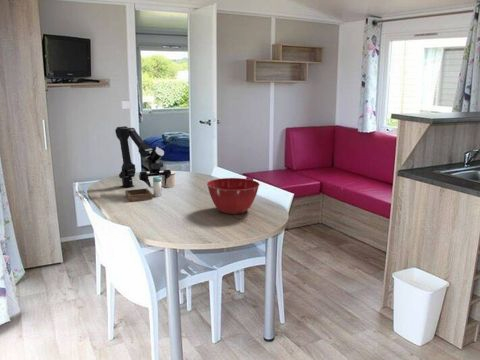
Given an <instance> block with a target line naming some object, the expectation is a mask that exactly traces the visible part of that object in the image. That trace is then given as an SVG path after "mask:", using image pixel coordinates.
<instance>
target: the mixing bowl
mask: <svg viewBox="0 0 480 360" xmlns="http://www.w3.org/2000/svg"><path fill="white" fill-rule="evenodd" d="M206 185H207V189H208V192H209V195H210V199H211V200H212V203H213V204H214V206H215V207H216V209H217V210H219V211H220V212H221V213H224V214H228V215H239V214H242V213H245V212H247V210H249V209H250V208H251V206H252V205H253V203H254V202H255V199H256V197H257V193H258V189H259V188H260V183H259V182H258V181H256V180H252V179H247V178H239V177H226V178H225V177H223V178H222V177H221V178H216V179H212V180H209V181H207V183H206Z"/></svg>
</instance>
